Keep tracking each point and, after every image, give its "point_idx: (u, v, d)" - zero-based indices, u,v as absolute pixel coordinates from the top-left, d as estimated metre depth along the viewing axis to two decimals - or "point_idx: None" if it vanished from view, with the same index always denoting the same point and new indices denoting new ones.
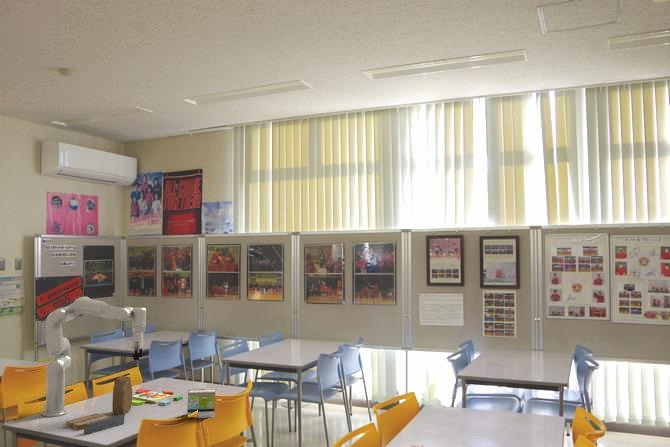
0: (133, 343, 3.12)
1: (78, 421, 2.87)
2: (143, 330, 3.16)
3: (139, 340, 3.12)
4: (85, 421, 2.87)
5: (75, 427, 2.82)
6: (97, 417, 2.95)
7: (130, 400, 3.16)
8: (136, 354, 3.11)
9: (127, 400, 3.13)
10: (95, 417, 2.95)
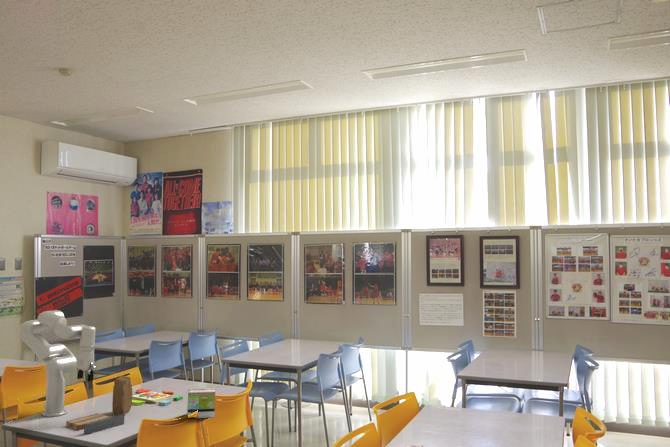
0: (88, 364, 2.98)
1: (78, 421, 2.87)
2: None
3: (93, 360, 3.00)
4: (85, 421, 2.87)
5: (75, 427, 2.82)
6: (97, 417, 2.95)
7: (130, 400, 3.16)
8: (91, 375, 2.98)
9: (127, 400, 3.13)
10: (95, 417, 2.95)
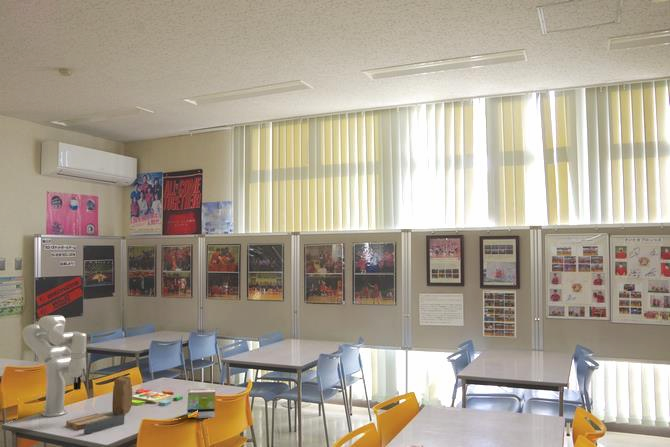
0: (80, 371, 2.95)
1: (78, 421, 2.87)
2: (85, 356, 3.01)
3: (85, 367, 2.98)
4: (85, 421, 2.87)
5: (75, 427, 2.82)
6: (97, 417, 2.95)
7: (130, 400, 3.16)
8: (79, 383, 2.98)
9: (127, 400, 3.13)
10: (95, 417, 2.95)
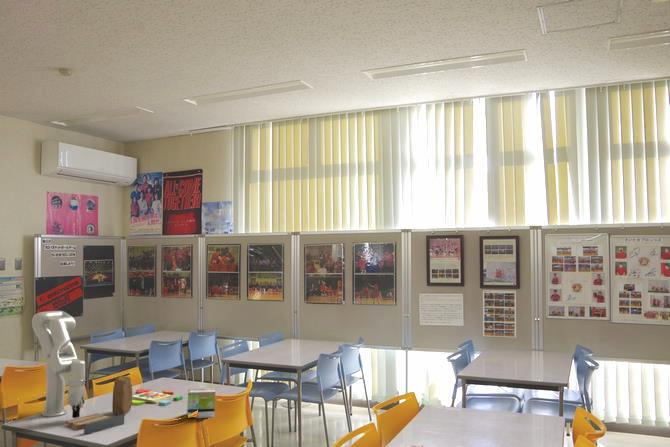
0: (78, 399, 2.94)
1: (78, 421, 2.87)
2: (84, 384, 3.00)
3: (84, 395, 2.97)
4: (85, 421, 2.87)
5: (75, 427, 2.83)
6: (97, 417, 2.95)
7: (130, 400, 3.16)
8: (78, 411, 2.97)
9: (127, 400, 3.13)
10: (95, 417, 2.95)
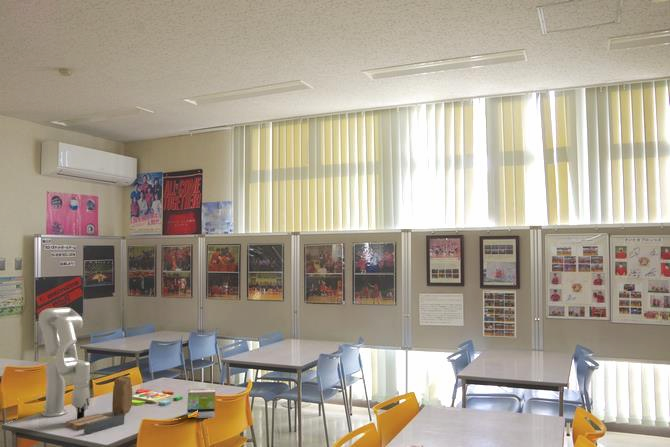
0: (83, 401, 2.92)
1: (78, 421, 2.87)
2: None
3: (89, 396, 2.95)
4: (85, 421, 2.87)
5: (75, 427, 2.82)
6: (97, 417, 2.95)
7: (130, 400, 3.16)
8: (82, 413, 2.95)
9: (127, 400, 3.13)
10: (96, 417, 2.95)
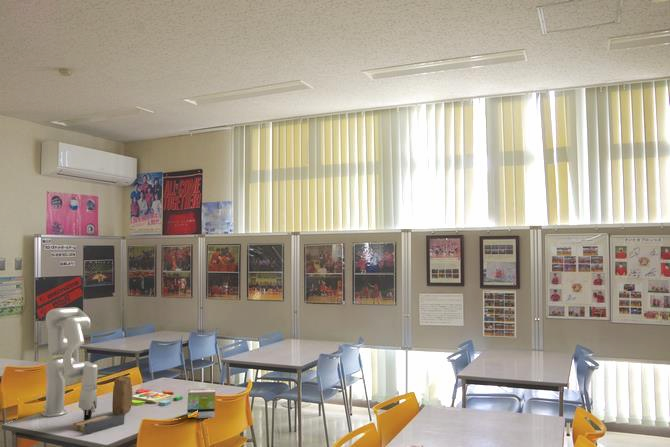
0: (90, 404, 2.88)
1: None
2: (96, 388, 2.94)
3: (96, 399, 2.91)
4: None
5: (82, 429, 2.79)
6: None
7: (130, 400, 3.16)
8: (89, 416, 2.92)
9: (127, 400, 3.13)
10: None
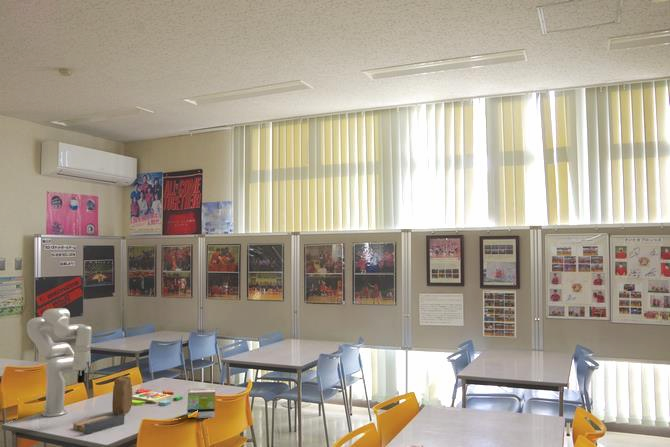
0: (84, 364, 2.93)
1: None
2: None
3: (89, 360, 2.96)
4: None
5: (82, 429, 2.79)
6: None
7: (130, 400, 3.16)
8: (83, 376, 2.97)
9: (127, 400, 3.13)
10: None
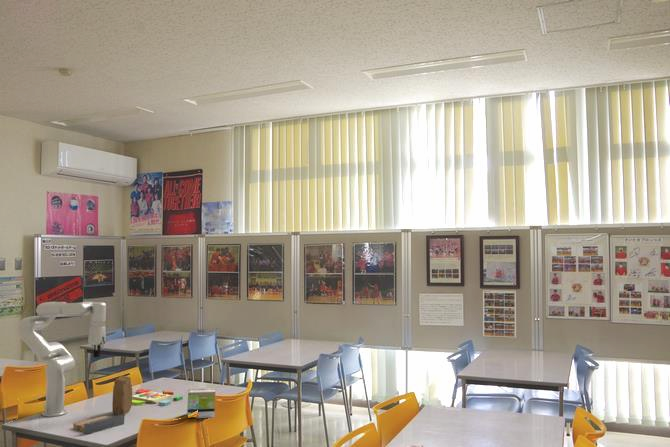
0: (100, 339, 3.04)
1: None
2: None
3: (105, 335, 3.07)
4: None
5: (83, 429, 2.79)
6: None
7: (130, 400, 3.16)
8: (98, 351, 3.07)
9: (127, 400, 3.13)
10: None
